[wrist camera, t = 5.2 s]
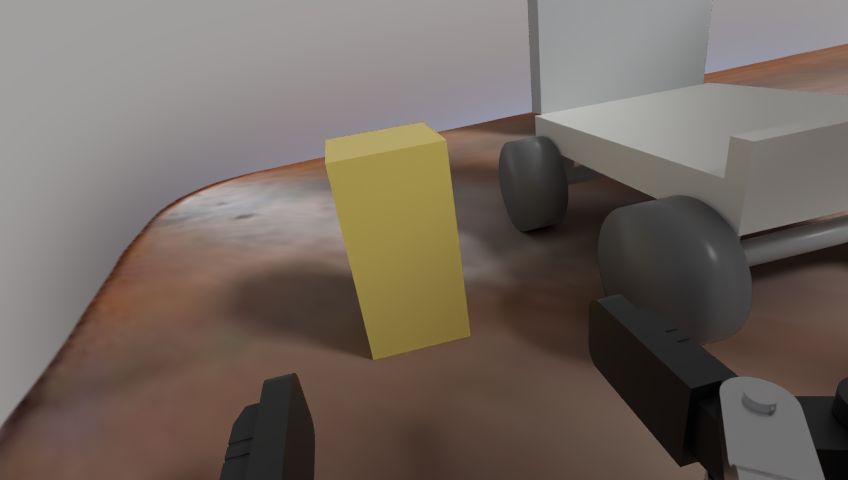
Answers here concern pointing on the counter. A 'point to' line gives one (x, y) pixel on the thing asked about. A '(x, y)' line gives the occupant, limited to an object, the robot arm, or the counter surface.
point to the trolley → (673, 157)
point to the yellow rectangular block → (400, 236)
